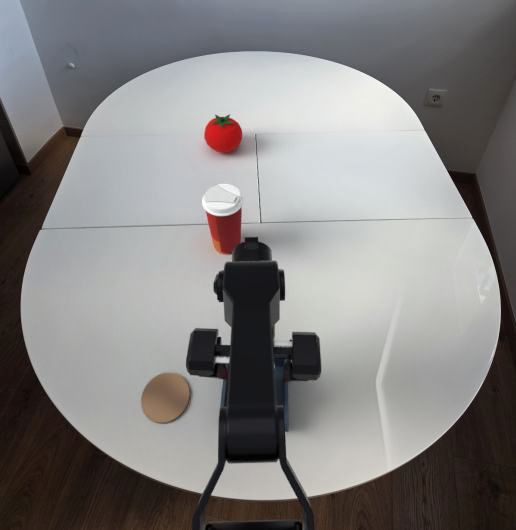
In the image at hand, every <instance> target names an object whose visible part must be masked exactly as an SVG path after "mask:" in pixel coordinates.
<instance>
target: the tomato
mask: <svg viewBox="0 0 516 530" xmlns="http://www.w3.org/2000/svg"><path fill="white" fill-rule="evenodd" d="M214 116H215V117H214V118H211V120H209V121H208V123H207V124H206V126H205V128H204V131H203V133H204V135H203V137H204V140H205V143H206V145H207V146H208V147H209V148H210V149H211V150H212V151H215V152H217V153H223V154H224V153H230V152H232V151H234V150H235V149H237V148H238V147H239V146H240V145H241V142H242V140H243V129H242V127H241V125H240V123H239V122H238V121H236V120H235V119H234V118H232V117H230V116H231V114H227V115H225V116H220V115H218V114H214Z"/></svg>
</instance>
